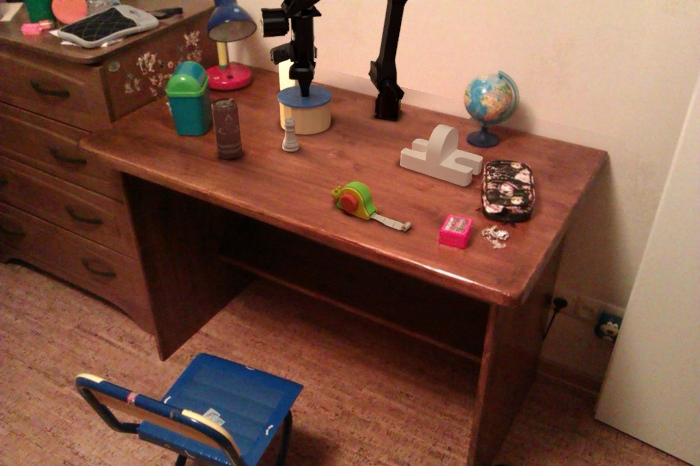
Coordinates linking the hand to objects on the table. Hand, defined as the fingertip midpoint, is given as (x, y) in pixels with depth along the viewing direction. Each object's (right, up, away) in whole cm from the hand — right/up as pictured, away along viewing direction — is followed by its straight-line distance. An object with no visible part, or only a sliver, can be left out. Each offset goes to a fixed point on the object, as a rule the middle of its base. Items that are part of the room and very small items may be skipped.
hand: (304, 93), depth 161 cm
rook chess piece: (-3, -16, -7) cm, 18 cm away
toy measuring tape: (+16, -34, -32) cm, 49 cm away
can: (-18, -18, -10) cm, 27 cm away
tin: (0, -7, +5) cm, 9 cm away
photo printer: (-5, +4, +21) cm, 22 cm away
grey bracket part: (+34, -22, -14) cm, 43 cm away
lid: (0, -1, +1) cm, 1 cm away
